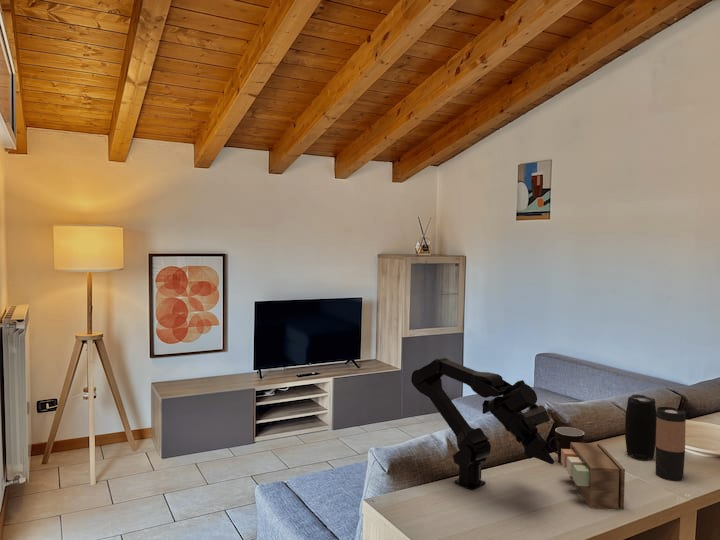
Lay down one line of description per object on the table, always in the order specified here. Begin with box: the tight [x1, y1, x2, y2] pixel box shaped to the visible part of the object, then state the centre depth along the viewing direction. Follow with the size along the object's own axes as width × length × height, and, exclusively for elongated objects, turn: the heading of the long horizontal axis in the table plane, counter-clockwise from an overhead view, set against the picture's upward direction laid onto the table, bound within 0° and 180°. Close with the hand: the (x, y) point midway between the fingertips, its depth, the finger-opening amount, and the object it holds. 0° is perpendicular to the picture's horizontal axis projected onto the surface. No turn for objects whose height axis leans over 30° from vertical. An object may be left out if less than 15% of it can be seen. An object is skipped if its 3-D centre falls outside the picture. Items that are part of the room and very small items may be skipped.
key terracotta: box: [561, 449, 576, 469], centre depth 156 cm, size 6×4×4 cm, turn 84°
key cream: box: [566, 457, 583, 477], centre depth 150 cm, size 6×4×4 cm, turn 84°
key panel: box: [569, 442, 626, 510], centre depth 149 cm, size 8×19×11 cm, turn 174°
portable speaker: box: [624, 394, 657, 461], centre depth 176 cm, size 9×9×20 cm
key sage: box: [573, 465, 590, 486], centre depth 144 cm, size 6×4×4 cm, turn 84°
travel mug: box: [655, 406, 687, 482], centre depth 161 cm, size 8×8×20 cm
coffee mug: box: [547, 426, 585, 465], centre depth 171 cm, size 12×9×10 cm
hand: (550, 458), depth 145 cm, fingers open, 5 cm apart
